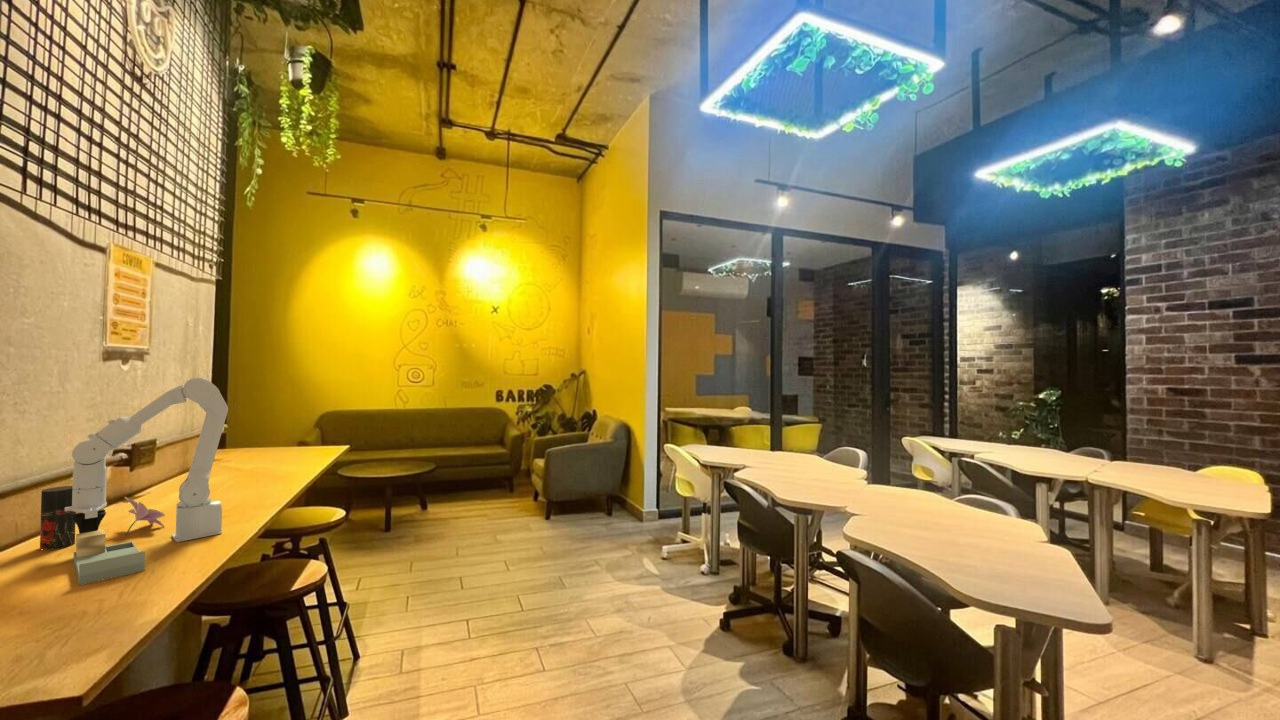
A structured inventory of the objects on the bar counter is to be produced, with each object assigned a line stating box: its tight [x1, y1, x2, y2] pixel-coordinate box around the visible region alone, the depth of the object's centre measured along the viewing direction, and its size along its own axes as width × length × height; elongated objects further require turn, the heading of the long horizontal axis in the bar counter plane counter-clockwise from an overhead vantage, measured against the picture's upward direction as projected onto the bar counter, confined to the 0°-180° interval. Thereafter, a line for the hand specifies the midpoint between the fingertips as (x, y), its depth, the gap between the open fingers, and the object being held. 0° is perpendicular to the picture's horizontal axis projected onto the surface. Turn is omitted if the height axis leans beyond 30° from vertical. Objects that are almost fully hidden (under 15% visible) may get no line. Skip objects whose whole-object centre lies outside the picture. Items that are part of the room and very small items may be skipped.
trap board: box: [73, 540, 146, 586], centre depth 116 cm, size 10×21×4 cm, turn 51°
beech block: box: [75, 529, 106, 558], centre depth 119 cm, size 4×4×4 cm
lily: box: [123, 496, 166, 535], centre depth 141 cm, size 12×12×10 cm
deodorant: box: [39, 485, 77, 551], centre depth 128 cm, size 6×6×15 cm
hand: (88, 541), depth 124 cm, fingers closed
